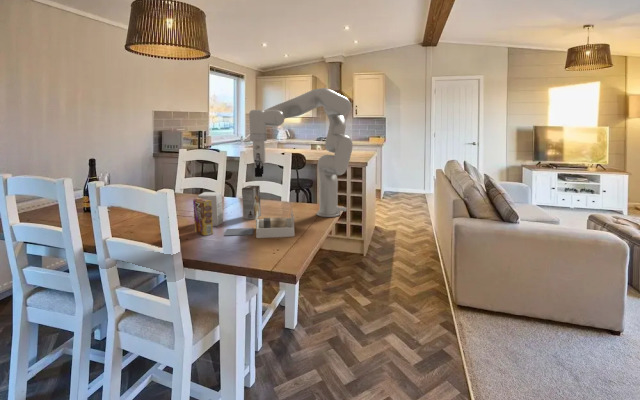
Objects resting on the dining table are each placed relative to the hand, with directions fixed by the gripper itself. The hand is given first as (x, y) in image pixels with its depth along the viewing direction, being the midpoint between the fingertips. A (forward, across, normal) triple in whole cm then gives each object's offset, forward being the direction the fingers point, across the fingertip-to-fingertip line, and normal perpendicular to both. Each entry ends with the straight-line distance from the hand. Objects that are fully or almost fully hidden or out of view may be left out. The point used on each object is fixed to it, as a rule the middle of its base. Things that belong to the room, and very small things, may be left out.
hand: (259, 175), depth 177 cm
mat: (+24, -9, +9) cm, 28 cm away
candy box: (+25, -9, +24) cm, 36 cm away
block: (+24, -10, -7) cm, 27 cm away
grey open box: (+24, -10, -7) cm, 27 cm away
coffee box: (+24, +18, +6) cm, 31 cm away
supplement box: (+25, +7, +24) cm, 35 cm away
